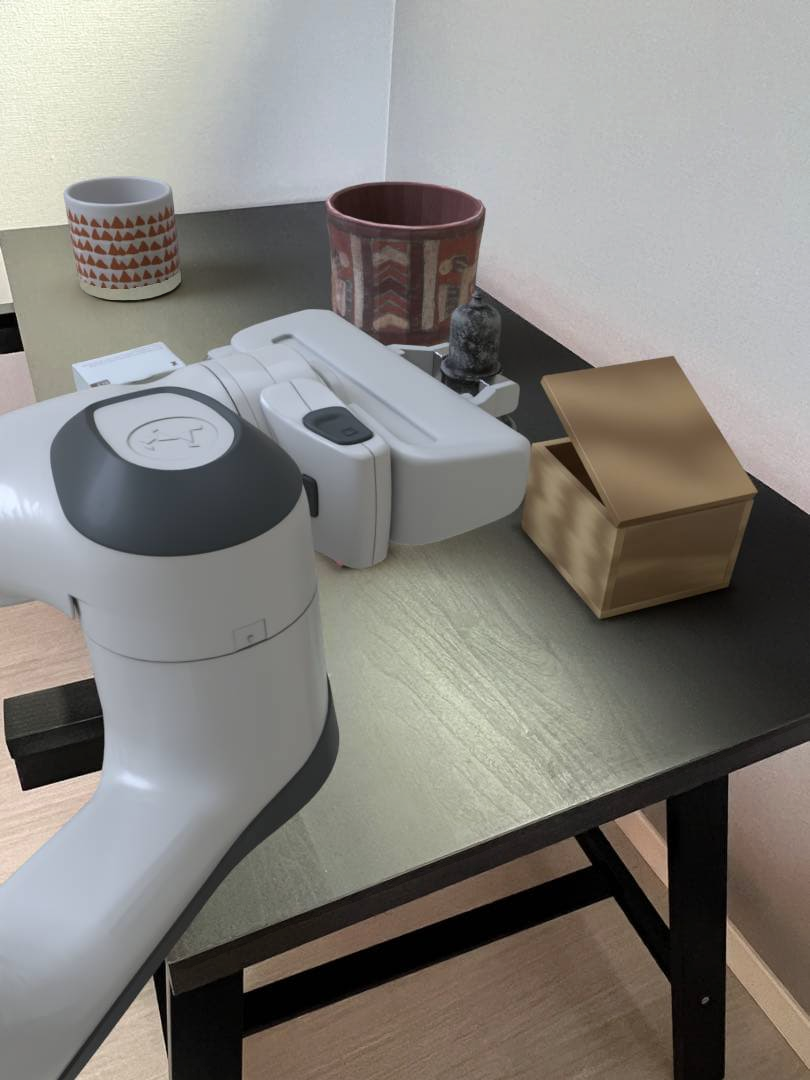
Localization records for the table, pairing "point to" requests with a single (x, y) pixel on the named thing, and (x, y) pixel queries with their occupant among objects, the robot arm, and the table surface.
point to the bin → (624, 539)
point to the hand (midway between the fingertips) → (484, 375)
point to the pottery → (403, 258)
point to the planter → (123, 231)
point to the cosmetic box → (127, 367)
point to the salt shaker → (474, 348)
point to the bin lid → (647, 440)
